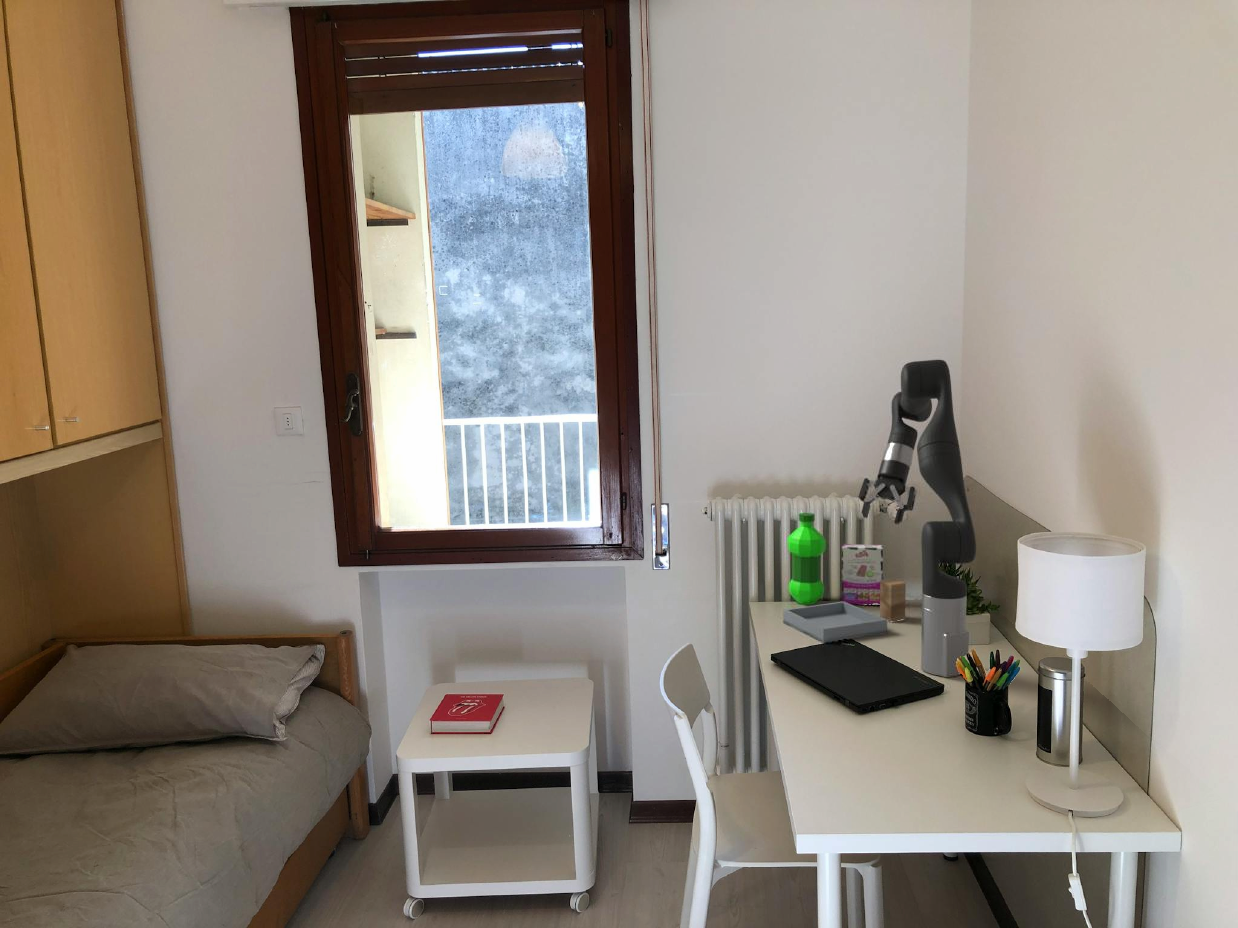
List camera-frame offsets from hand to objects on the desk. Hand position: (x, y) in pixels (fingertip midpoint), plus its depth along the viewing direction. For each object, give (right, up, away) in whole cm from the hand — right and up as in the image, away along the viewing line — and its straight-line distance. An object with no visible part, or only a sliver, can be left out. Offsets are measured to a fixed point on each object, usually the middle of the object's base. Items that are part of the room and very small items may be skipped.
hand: (880, 520), depth 248 cm
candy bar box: (-1, -24, +14) cm, 28 cm away
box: (-14, -27, -8) cm, 32 cm away
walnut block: (+3, -26, -2) cm, 26 cm away
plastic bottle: (-16, -24, +16) cm, 33 cm away
